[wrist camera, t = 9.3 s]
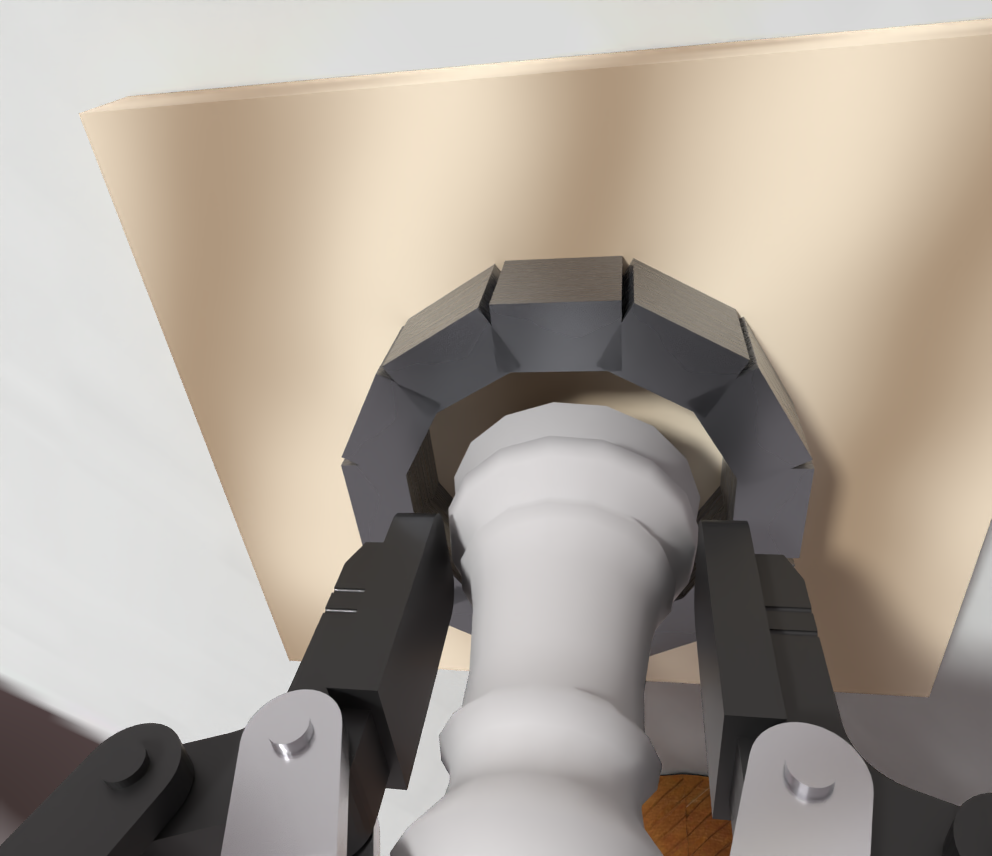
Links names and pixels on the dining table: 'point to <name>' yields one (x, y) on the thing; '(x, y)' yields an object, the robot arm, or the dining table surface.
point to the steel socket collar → (585, 347)
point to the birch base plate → (631, 234)
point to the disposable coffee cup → (685, 818)
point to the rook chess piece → (559, 633)
